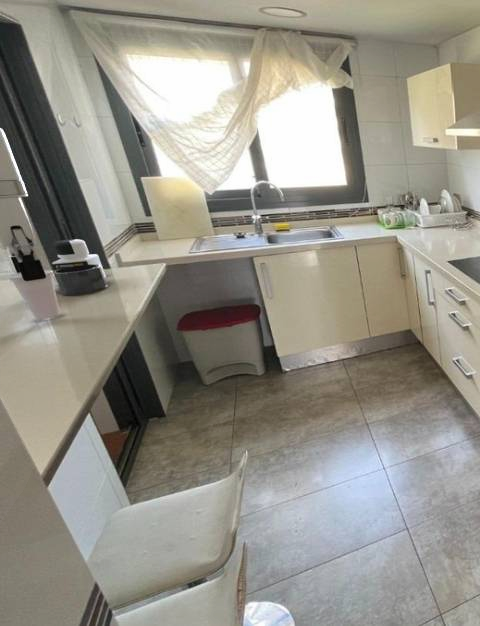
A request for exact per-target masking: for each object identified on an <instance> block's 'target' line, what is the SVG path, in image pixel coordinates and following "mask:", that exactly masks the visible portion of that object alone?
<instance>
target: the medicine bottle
mask: <svg viewBox="0 0 480 626" xmlns="http://www.w3.org/2000/svg"><path fill="white" fill-rule="evenodd" d="M53 248H54V250H55V253H56V255H57V258H59V259H58V260H56V261H53V262H52V263H51V265H52V267H53V271H55V270H58V269H61V268H65V267H71V266H77V265H86V264H98V265H100V267H101V269H102V272H103V274H104V277H105V280H106V278H107V275H106V273H105V270H104V268H103V267H104V266H103V265H102V262H101V259H100V256H99V255H98V254H97V253H94V254H92V253H91V254H90V252H89V249H88V245H87V244H86V242H85V240H83V239H78V238H73V239H64V240H59V241H56V242H54V243H53Z"/></svg>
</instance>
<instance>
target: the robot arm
mask: <svg viewBox="0 0 480 626" xmlns="http://www.w3.org/2000/svg"><path fill="white" fill-rule="evenodd" d="M21 175H22V174H21V173H20V170H19V168H18V165H17V162H16V159H15V157H14V154H13V152H12V149H11V146H10V144H9V141H8V138H7V136H6V133H5V132H4V130H3V128H1V127H0V249H1V250H8V251H9V254H10V259H11V262H12V265H13V267H14V269H15V272H16V273H20V272H21V275H22V277H23V280H24V281H32V280H39V279H45V278H46V275H45V272H44V270H45V269H44V267H43V265H42V262H41V259H39V257H38V255H37V253H36V250H35V248H34V247H35V246H36V245H37V240H36V236H35V233H34V230H33V227H32V224H31V222H30V218H29V217H28V214H27V213H28V212H27V211H26V208H25V206H24V203H23V201H22V198H25V197H29V194H28V191H27V188H26V186H25V183H24V181H23V178H22V176H21Z"/></svg>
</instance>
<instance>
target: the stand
mask: <svg viewBox="0 0 480 626" xmlns="http://www.w3.org/2000/svg"><path fill="white" fill-rule="evenodd" d="M52 272H53V274H54V276H53V279H54V280H55V283H56V285H57V287H58V290H59V292H60V293H61V295H62V296H63V297H75V296H84V295H89V294H94V293H98V292H101V291H104V290H106V289H108V287H109V286H108V282H107V280H106V279H105V277H104V274H103V272H102V269H101V267H100V265H98V264H86V265H77V266H71V267H65V268H61V269H58V270H52Z"/></svg>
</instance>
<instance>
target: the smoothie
mask: <svg viewBox="0 0 480 626" xmlns="http://www.w3.org/2000/svg"><path fill="white" fill-rule="evenodd" d="M43 270H44V272H45V275H46V278H45V279H39V280H32V281H24V280H23V277H22V275H21V272H20V273H17V272H16V273H13V274H10V275H9V276H8V279H9V282H11V283H13V284H14V286H15V288H16V289H17V292H18V293H19V295H20V296H21V297H22V299H23V301H24V302H25V304H26V306H27V307H28V310H29V311H30V312H31V314H32V315H33V317H34V319H36V320H46V319H51V318H55V317H58V316H60V315H61V313H60V307H59V304H58V299H57V293H56V288H55V283H54V274H53V270H51V269H43Z"/></svg>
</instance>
